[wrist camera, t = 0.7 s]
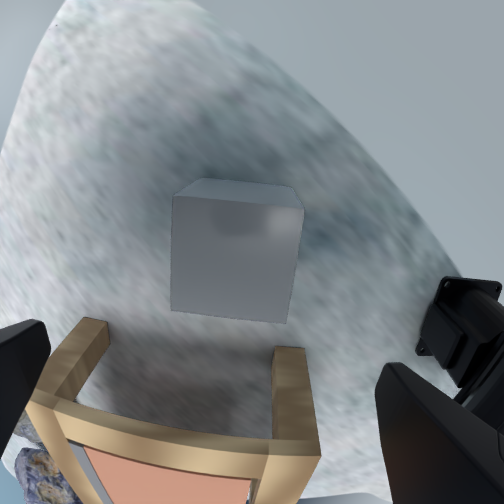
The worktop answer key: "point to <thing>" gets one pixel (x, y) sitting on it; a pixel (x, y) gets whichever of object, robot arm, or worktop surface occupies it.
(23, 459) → the rock
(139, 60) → the worktop surface
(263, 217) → the grey block
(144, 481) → the trapdoor
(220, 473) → the trapdoor frame
